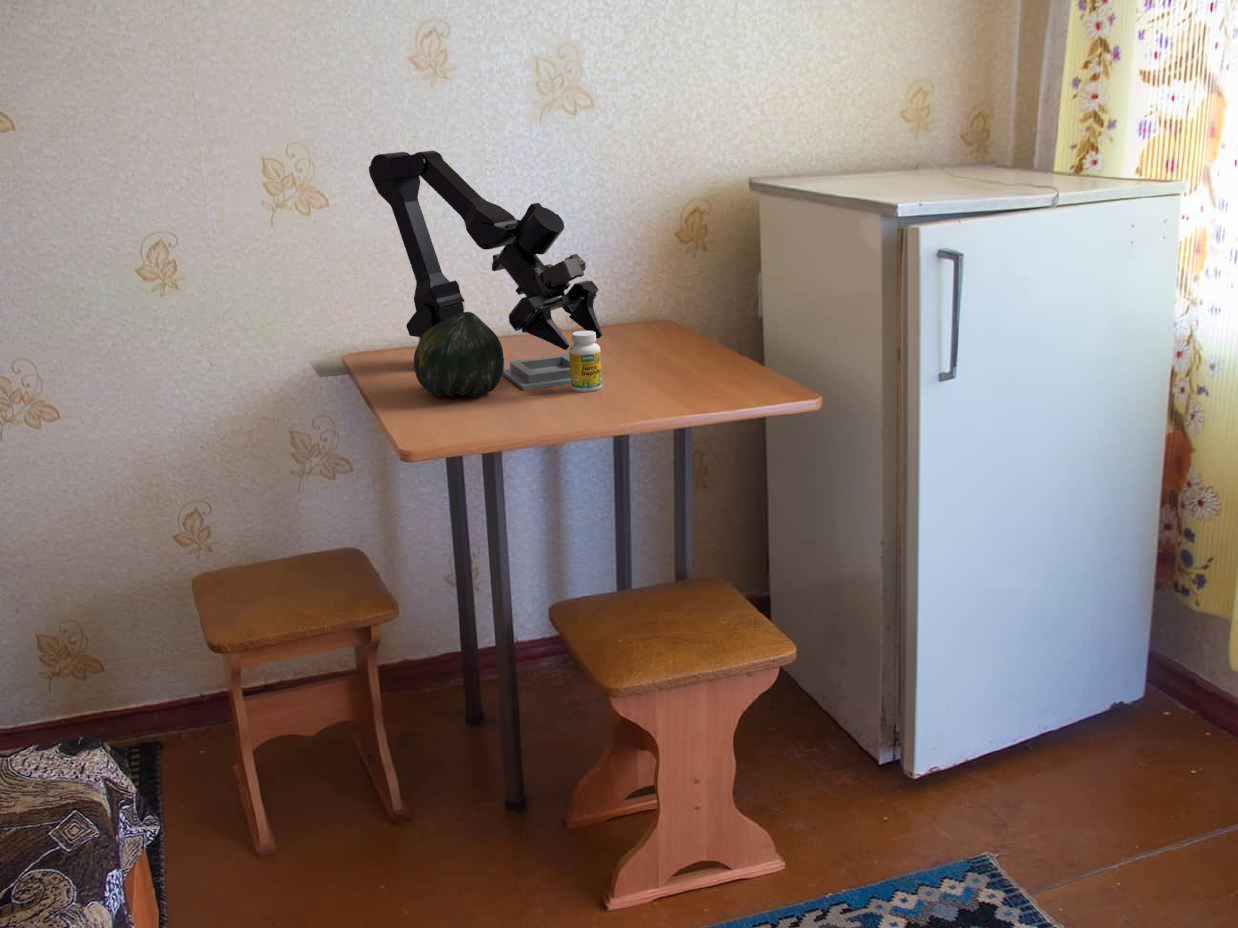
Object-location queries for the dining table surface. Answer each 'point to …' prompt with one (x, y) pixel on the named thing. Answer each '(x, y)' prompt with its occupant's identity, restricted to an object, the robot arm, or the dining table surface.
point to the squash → (459, 357)
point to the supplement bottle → (585, 362)
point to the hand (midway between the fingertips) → (584, 342)
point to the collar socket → (539, 372)
